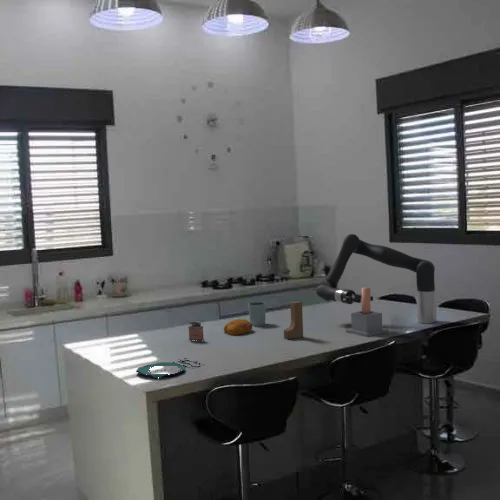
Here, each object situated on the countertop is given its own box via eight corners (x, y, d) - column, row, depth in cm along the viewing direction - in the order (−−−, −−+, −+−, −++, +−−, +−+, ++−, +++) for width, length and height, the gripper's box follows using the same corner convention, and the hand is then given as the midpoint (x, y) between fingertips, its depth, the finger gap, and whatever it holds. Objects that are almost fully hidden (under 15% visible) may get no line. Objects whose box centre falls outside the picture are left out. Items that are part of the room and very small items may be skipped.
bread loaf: (257, 335, 340) (258, 320, 340) (236, 336, 329) (237, 321, 329) (238, 331, 350) (239, 316, 350) (217, 332, 339) (218, 317, 339)
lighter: (205, 340, 324) (204, 320, 323) (202, 341, 321) (201, 322, 320) (190, 339, 327) (189, 320, 326) (187, 341, 324) (186, 321, 323)
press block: (367, 327, 337) (367, 309, 336) (388, 332, 324) (387, 312, 324) (346, 332, 329) (345, 312, 328) (366, 336, 316) (365, 317, 315)
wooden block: (288, 339, 317) (287, 304, 315) (283, 338, 321) (282, 302, 319) (303, 337, 321) (302, 302, 320) (298, 335, 325) (297, 300, 324)
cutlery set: (127, 374, 268) (127, 368, 268) (183, 360, 289) (183, 355, 289) (156, 383, 254) (156, 377, 254) (212, 367, 275) (212, 362, 275)
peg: (366, 325, 330) (366, 287, 328) (372, 326, 326) (372, 288, 324) (360, 326, 327) (359, 288, 325) (366, 327, 324) (365, 289, 322)
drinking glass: (246, 325, 355) (245, 304, 354) (252, 322, 364) (251, 301, 363) (263, 326, 351) (262, 305, 350) (269, 322, 360) (268, 302, 359)
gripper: (334, 290, 334) (355, 294, 321) (355, 287, 342) (376, 290, 328) (335, 304, 335) (356, 308, 321) (355, 301, 343) (376, 305, 329)
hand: (366, 299), depth 325 cm, fingers open, 8 cm apart
